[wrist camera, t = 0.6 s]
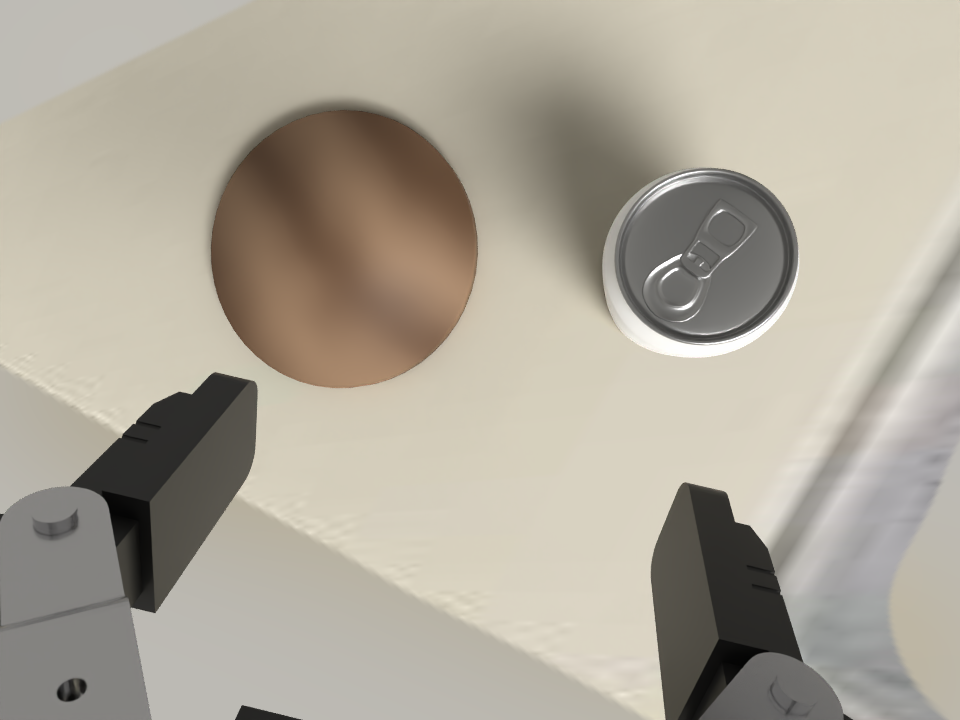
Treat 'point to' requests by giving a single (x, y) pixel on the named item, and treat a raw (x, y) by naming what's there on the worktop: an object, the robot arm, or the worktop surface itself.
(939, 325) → the worktop surface
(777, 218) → the can
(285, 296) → the disc
